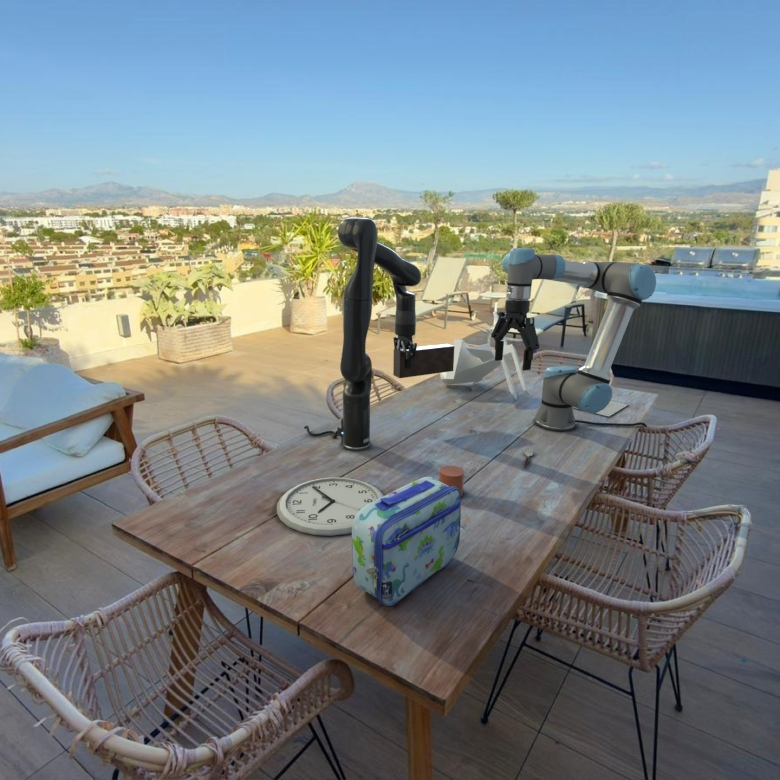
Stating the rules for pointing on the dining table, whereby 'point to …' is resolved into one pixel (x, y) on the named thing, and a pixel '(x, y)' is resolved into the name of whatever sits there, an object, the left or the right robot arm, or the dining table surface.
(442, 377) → the white plastic object
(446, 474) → the orange clay cylinder
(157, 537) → the dining table surface
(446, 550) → the lunch box
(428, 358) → the walnut box
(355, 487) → the wall clock
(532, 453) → the fork
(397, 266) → the left robot arm
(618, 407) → the invitation card
